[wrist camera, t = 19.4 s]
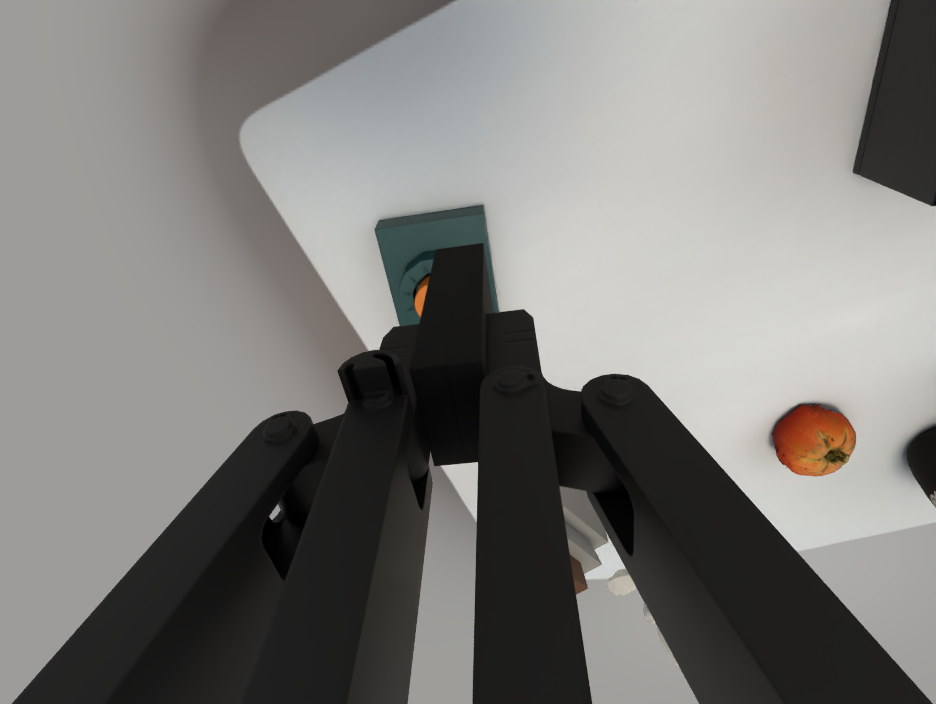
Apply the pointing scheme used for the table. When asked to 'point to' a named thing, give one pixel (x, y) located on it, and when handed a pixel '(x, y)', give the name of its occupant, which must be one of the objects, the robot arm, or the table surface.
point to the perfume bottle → (581, 534)
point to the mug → (924, 462)
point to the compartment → (903, 105)
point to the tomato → (814, 440)
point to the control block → (426, 251)
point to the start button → (421, 295)
